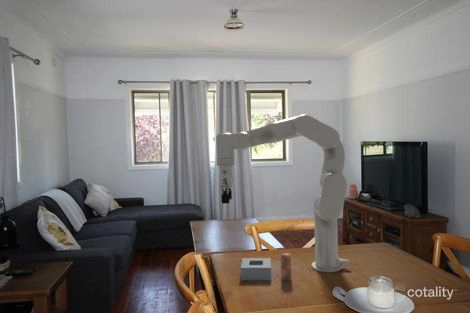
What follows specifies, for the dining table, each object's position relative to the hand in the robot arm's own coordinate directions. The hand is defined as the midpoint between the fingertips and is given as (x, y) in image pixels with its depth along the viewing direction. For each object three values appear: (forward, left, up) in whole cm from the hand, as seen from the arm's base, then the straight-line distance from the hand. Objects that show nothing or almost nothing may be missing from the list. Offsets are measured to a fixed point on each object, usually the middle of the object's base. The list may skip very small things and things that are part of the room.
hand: (226, 201), depth 166 cm
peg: (-24, +13, -30) cm, 40 cm away
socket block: (-12, +8, -30) cm, 33 cm away
